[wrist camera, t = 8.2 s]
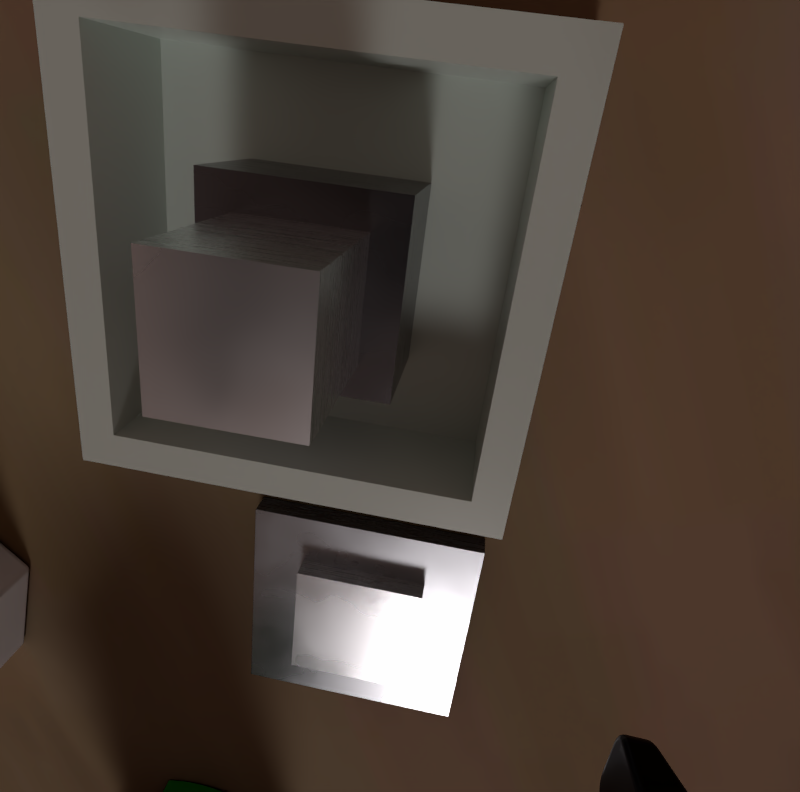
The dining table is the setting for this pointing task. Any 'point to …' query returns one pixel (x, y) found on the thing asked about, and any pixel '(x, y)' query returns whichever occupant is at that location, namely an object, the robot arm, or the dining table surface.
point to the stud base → (361, 604)
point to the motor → (187, 787)
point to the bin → (346, 151)
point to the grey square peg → (278, 297)
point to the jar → (12, 603)
